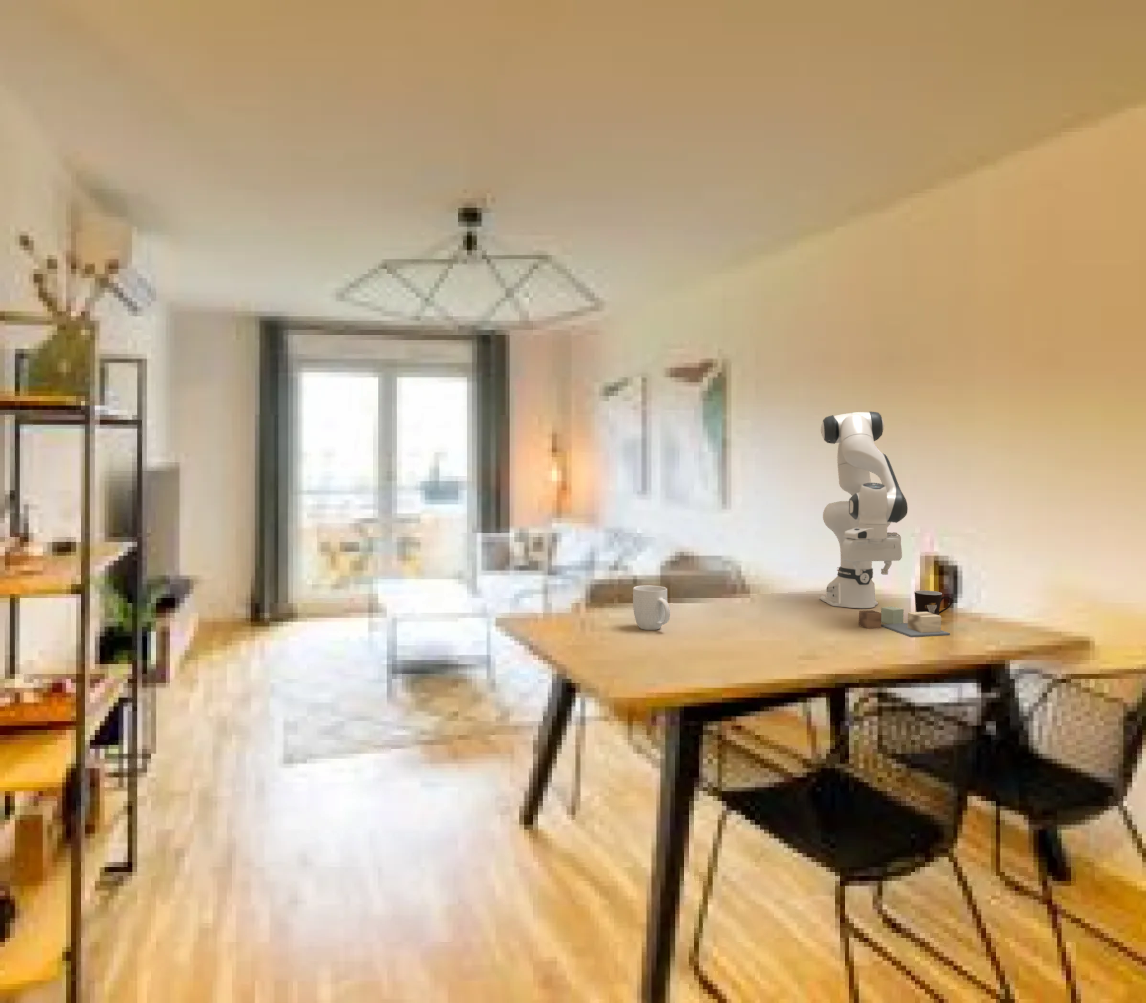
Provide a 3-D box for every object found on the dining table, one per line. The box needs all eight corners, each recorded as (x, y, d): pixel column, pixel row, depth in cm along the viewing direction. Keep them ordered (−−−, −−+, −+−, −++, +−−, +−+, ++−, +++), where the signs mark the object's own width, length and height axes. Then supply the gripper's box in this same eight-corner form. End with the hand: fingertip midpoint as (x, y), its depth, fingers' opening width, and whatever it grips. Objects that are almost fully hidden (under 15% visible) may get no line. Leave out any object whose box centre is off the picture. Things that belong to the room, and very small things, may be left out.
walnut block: (858, 625, 273) (859, 610, 273) (872, 625, 274) (872, 610, 274) (867, 629, 268) (867, 613, 268) (880, 628, 269) (881, 613, 269)
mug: (681, 631, 261) (682, 590, 261) (654, 635, 255) (655, 594, 255) (652, 623, 274) (652, 584, 273) (625, 626, 268) (626, 587, 267)
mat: (880, 626, 272) (880, 624, 272) (917, 624, 275) (917, 622, 275) (911, 637, 256) (911, 635, 256) (949, 635, 260) (950, 633, 260)
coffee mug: (912, 622, 278) (913, 593, 277) (914, 618, 285) (915, 589, 285) (949, 626, 272) (951, 596, 272) (951, 621, 280) (952, 592, 279)
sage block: (880, 622, 279) (881, 607, 278) (890, 620, 281) (891, 606, 281) (892, 625, 274) (893, 610, 274) (903, 623, 277) (903, 609, 276)
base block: (907, 627, 267) (908, 612, 267) (926, 626, 269) (926, 611, 268) (921, 632, 260) (922, 617, 260) (940, 631, 262) (941, 616, 261)
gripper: (894, 531, 274) (893, 572, 275) (839, 532, 270) (838, 574, 270) (906, 533, 268) (905, 575, 269) (850, 533, 264) (849, 576, 264)
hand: (871, 574), depth 270 cm, fingers open, 8 cm apart
